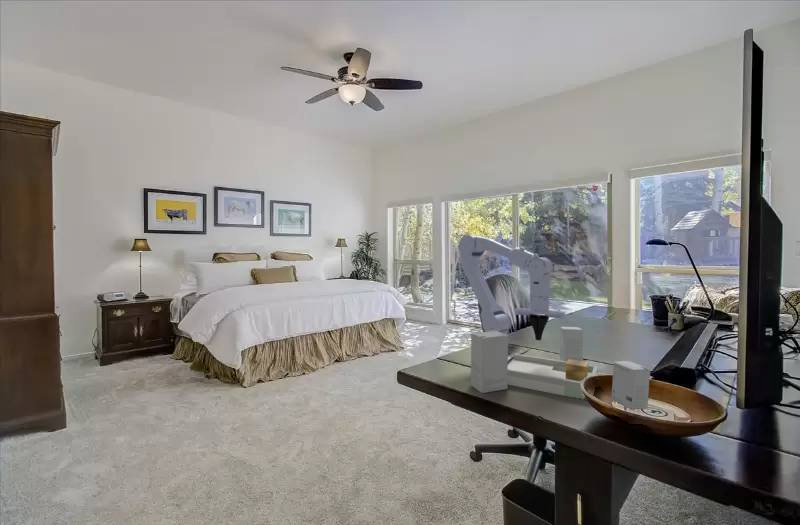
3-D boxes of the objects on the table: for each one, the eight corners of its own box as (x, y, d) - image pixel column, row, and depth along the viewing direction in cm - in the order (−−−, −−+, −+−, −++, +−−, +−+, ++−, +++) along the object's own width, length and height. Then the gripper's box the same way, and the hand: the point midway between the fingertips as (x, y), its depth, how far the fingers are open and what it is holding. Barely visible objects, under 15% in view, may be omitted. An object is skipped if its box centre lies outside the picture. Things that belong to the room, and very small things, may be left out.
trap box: (498, 382, 103) (498, 368, 103) (514, 366, 118) (514, 353, 118) (592, 401, 91) (593, 385, 91) (597, 380, 106) (597, 366, 106)
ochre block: (565, 378, 100) (565, 363, 100) (567, 373, 104) (568, 359, 104) (586, 381, 98) (586, 366, 97) (587, 376, 102) (588, 362, 102)
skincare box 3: (609, 413, 84) (611, 360, 84) (626, 412, 85) (628, 360, 85) (630, 426, 78) (632, 369, 78) (649, 424, 79) (651, 368, 78)
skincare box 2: (577, 362, 123) (578, 326, 123) (582, 366, 119) (583, 329, 119) (558, 361, 124) (559, 326, 123) (563, 365, 120) (564, 329, 119)
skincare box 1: (495, 382, 103) (496, 329, 103) (508, 390, 98) (509, 334, 97) (469, 386, 100) (470, 331, 100) (481, 394, 95) (482, 336, 94)
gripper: (512, 295, 115) (511, 339, 115) (562, 299, 107) (561, 345, 108) (518, 293, 121) (517, 334, 121) (566, 296, 113) (565, 340, 114)
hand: (538, 339), depth 115 cm, fingers closed
